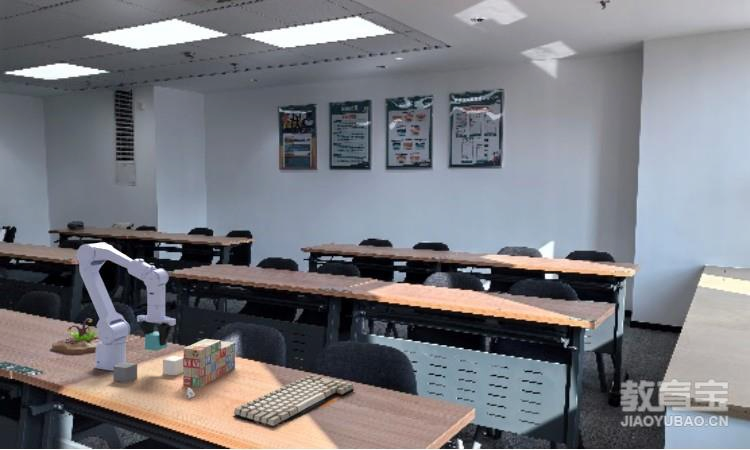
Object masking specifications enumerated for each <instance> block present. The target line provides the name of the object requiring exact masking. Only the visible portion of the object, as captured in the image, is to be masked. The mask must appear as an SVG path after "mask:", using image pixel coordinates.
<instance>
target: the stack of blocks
mask: <svg viewBox="0 0 750 450" xmlns="http://www.w3.org/2000/svg"><path fill="white" fill-rule="evenodd" d="M183 357H184V358H183V370H184V372H182V373H183V376H182V377H183V378H182V379H183V381H182V383H183V386H190V387H195V388H201V387H203V386H205V385H207V384H209V383H211V382H212V381H214V380H216V379H217V378H219V377H221V376H223V375H225V374H226V373H229V372H230V371H232V370H234V369H235V368H236V343H235V342H232V341H223V340H220V339H209V338H204V339H202V340H199V341H197V342H195V343H193V344H191V345H187V346H185V347H183Z"/></svg>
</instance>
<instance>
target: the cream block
mask: <svg viewBox="0 0 750 450" xmlns="http://www.w3.org/2000/svg"><path fill="white" fill-rule="evenodd" d="M183 358H184V356H177V355H171V356H168V357H166V358H164V359H162V374H163V375H167V374H168V376H173V375H176V376H178V375H180V374H182V373H183V372H184V370H183Z"/></svg>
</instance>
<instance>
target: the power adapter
mask: <svg viewBox="0 0 750 450" xmlns="http://www.w3.org/2000/svg"><path fill="white" fill-rule="evenodd" d="M186 396H187V399H191V398H193V397H194V398H195V397H196V393H195V392H194V390H193V389H192V388H190V387H188V388H187V389H186Z"/></svg>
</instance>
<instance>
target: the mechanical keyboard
mask: <svg viewBox="0 0 750 450" xmlns="http://www.w3.org/2000/svg"><path fill="white" fill-rule="evenodd" d="M354 390H355V388H354V385H353V383H347V381H340V380H334V379H332V378H328V377H322V376H321V375H319V374H318V375H315V374H313V373H311V374H309V375H307V376H304V377H302V378H299V379H298V380H295V381H294V382H290V383H287V384H286V385H285V386H281V387H280V388H276V389H274V391H273V390H272V391H271V392H269V393H265V394H263V395H261V396H258V398H255V399H253V400H252V401H248V402H246V403H244V404H241V405H240V406H237V407H235V408H234V413H233V416H232V417H233V418H236V419H239V420H241V421H244V422H249V423H252V424H255V425H263V426H264V427H268V426H269V427H275V428H276V427H277V426H279V425H283V424H285V423H288V422H289V423H290V422H292V421H295V420H297V419H299V418H300V417H302V416H303V417H304V416H305V415H307V414H308V413H311V412H312V411H315V410H317V409H322V408H323V409H324V408H325V407H327V406H330V405H331V404H333V403H336V402H338V401H340V400H341V399H343V398H345V397H347V396H348V395H350V393H351V394H352V393H354V392H355V391H354ZM353 391H354V392H353ZM346 395H347V396H346Z"/></svg>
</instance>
